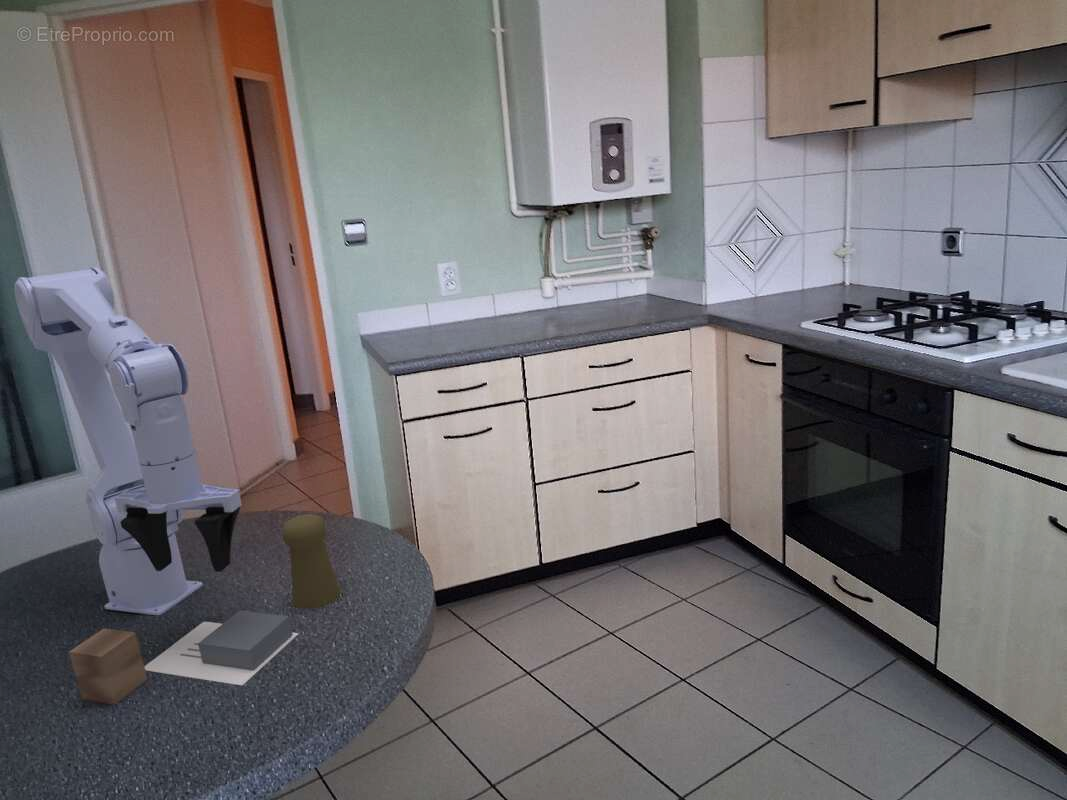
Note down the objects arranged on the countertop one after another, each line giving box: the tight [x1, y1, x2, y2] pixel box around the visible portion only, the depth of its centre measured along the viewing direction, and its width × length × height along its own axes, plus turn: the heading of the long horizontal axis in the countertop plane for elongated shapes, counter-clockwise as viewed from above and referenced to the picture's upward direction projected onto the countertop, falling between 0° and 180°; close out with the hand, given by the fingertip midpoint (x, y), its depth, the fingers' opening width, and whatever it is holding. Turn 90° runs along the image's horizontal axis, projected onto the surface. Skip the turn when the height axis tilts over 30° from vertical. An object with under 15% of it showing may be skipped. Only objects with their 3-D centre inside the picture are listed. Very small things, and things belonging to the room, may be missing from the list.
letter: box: [144, 621, 300, 686], centre depth 91 cm, size 14×10×1 cm
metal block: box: [198, 610, 293, 671], centre depth 90 cm, size 7×7×2 cm
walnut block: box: [68, 628, 148, 706], centre depth 85 cm, size 4×4×6 cm
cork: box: [282, 513, 341, 610], centre depth 100 cm, size 6×6×11 cm
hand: (193, 567), depth 92 cm, fingers open, 7 cm apart
